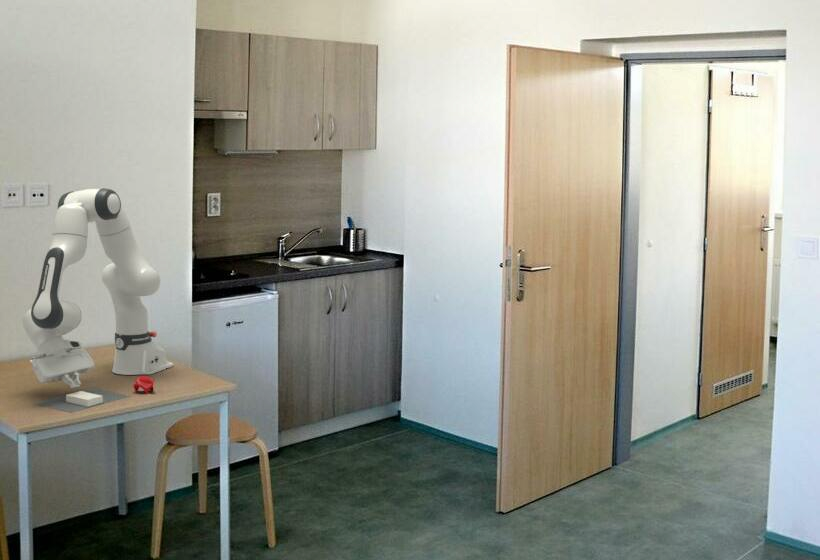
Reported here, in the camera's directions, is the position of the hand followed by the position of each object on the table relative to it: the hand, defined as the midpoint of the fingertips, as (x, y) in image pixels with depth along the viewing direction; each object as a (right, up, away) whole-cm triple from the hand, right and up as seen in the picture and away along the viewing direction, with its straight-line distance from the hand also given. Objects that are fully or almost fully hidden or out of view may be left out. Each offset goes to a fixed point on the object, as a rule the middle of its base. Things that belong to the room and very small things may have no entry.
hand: (76, 386), depth 327 cm
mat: (+1, -5, +2) cm, 6 cm away
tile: (-1, -3, +1) cm, 4 cm away
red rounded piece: (+18, -4, +14) cm, 23 cm away
